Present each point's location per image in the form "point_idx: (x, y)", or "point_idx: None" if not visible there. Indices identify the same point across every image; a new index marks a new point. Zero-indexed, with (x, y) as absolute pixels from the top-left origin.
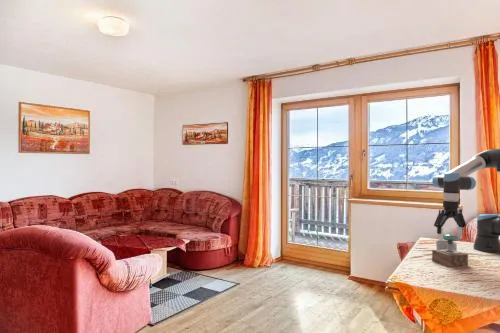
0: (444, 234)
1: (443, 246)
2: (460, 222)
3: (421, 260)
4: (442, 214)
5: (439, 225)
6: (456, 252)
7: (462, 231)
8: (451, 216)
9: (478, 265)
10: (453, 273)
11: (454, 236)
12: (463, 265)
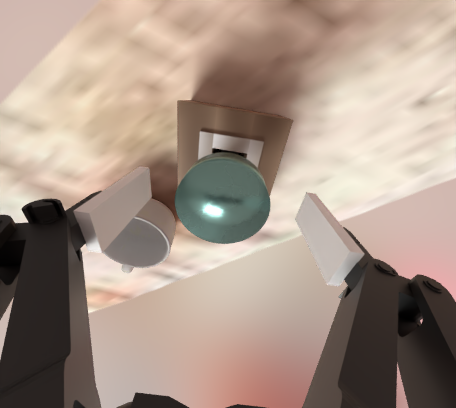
0: (238, 234)
1: (166, 229)
2: (46, 263)
3: (285, 209)
4: None
5: (420, 288)
6: (214, 142)
7: (92, 196)
8: None
9: (144, 78)
10: (371, 40)
11: (238, 167)
12: (213, 104)
